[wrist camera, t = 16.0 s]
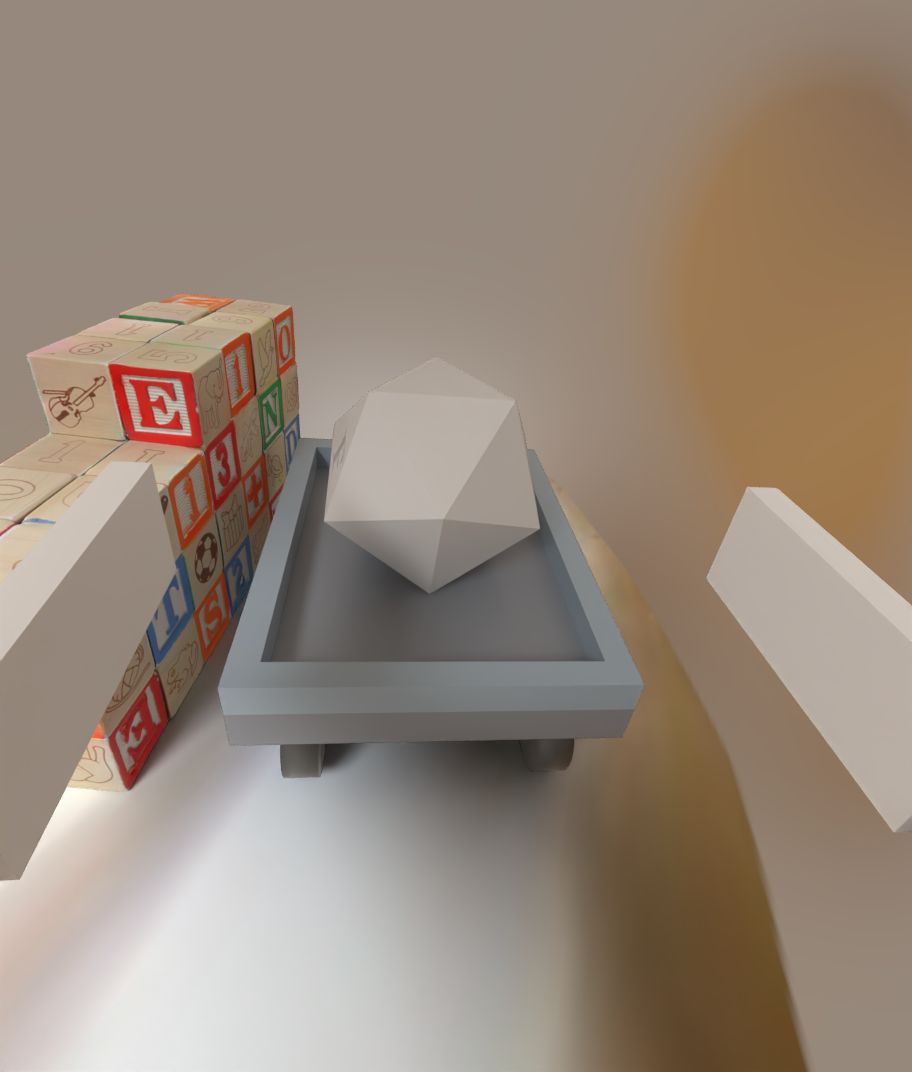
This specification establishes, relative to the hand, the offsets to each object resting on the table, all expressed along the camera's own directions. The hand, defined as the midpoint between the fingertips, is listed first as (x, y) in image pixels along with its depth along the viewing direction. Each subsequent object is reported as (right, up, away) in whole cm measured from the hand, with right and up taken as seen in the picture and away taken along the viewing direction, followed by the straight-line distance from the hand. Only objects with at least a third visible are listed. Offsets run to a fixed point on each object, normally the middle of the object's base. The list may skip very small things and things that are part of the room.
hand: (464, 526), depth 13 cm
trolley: (-2, -5, +15) cm, 16 cm away
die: (-1, -1, +12) cm, 12 cm away
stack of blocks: (-14, -3, +16) cm, 21 cm away
